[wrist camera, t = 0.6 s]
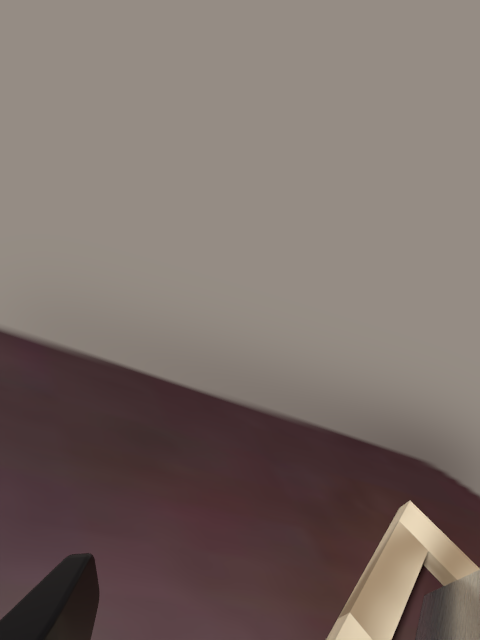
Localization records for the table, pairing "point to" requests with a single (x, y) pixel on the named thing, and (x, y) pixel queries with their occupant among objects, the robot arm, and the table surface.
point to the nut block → (452, 611)
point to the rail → (398, 575)
